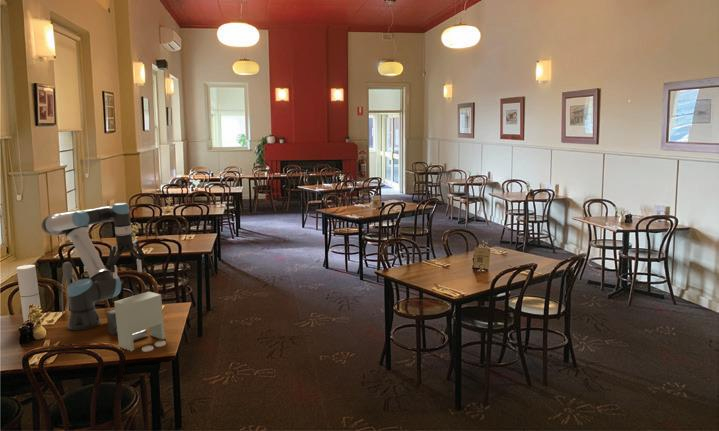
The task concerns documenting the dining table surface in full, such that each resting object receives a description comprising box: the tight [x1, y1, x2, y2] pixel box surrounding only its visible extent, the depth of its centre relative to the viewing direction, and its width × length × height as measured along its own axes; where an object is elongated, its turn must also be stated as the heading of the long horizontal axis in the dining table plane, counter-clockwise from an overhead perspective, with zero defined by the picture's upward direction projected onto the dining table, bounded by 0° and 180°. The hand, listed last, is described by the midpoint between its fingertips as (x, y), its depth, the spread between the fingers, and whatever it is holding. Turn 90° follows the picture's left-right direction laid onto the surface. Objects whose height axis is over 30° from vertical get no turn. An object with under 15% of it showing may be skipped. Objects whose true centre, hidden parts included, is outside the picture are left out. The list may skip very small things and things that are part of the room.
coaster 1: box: [141, 344, 154, 353], centre depth 268 cm, size 5×5×1 cm
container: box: [15, 264, 42, 323], centre depth 307 cm, size 9×9×30 cm
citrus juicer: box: [60, 261, 78, 315], centre depth 315 cm, size 11×10×30 cm
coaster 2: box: [154, 340, 167, 348], centre depth 273 cm, size 5×5×1 cm
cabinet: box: [113, 290, 166, 352], centre depth 274 cm, size 10×18×22 cm, turn 143°
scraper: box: [106, 309, 148, 342], centre depth 285 cm, size 20×13×11 cm, turn 53°
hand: (127, 275), depth 295 cm, fingers open, 13 cm apart
